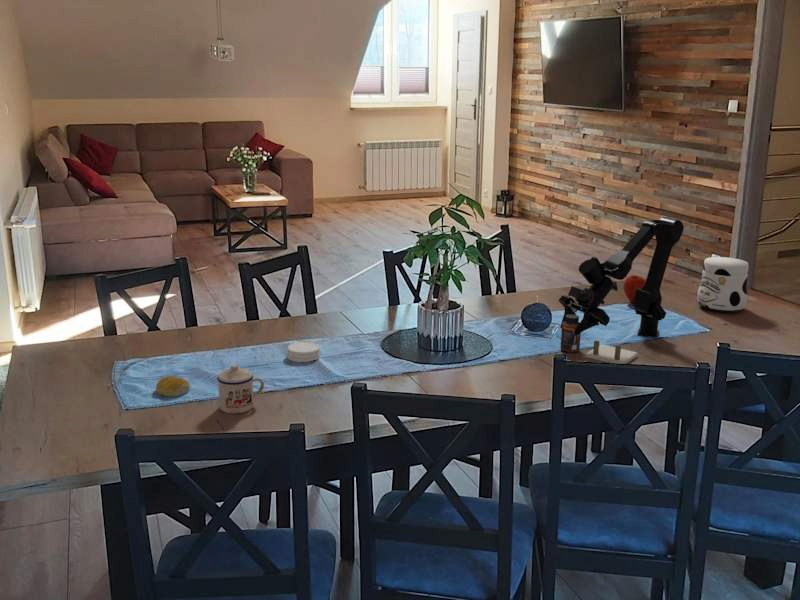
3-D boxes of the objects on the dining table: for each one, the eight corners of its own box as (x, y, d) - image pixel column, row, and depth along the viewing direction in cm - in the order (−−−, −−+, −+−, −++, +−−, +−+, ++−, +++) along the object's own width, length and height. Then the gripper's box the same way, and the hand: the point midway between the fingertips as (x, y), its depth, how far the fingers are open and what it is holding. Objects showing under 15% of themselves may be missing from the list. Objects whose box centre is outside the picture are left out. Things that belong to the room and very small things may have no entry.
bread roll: (172, 383, 226) (171, 370, 225) (195, 390, 221) (194, 376, 220) (149, 393, 219) (147, 379, 218) (171, 400, 214) (170, 386, 213)
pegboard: (601, 347, 257) (602, 332, 256) (637, 356, 250) (638, 340, 249) (585, 356, 249) (587, 341, 247) (622, 366, 242) (624, 349, 240)
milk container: (690, 310, 298) (695, 262, 293) (702, 299, 311) (708, 254, 306) (739, 318, 288) (745, 269, 283) (750, 307, 302) (756, 260, 297)
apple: (618, 299, 309) (620, 272, 306) (639, 299, 310) (642, 272, 307) (626, 306, 301) (629, 278, 298) (648, 305, 302) (651, 278, 299)
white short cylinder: (311, 365, 240) (310, 354, 239) (281, 360, 244) (281, 349, 243) (325, 354, 249) (325, 343, 248) (296, 350, 253) (296, 339, 252)
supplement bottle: (579, 354, 251) (582, 319, 248) (560, 352, 252) (562, 318, 249) (579, 347, 257) (582, 313, 254) (560, 346, 258) (562, 312, 255)
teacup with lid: (224, 417, 204) (221, 374, 201) (215, 403, 212) (212, 362, 209) (269, 408, 209) (268, 367, 206) (259, 396, 217) (257, 355, 214)
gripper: (564, 270, 258) (535, 308, 256) (606, 284, 242) (575, 324, 240) (581, 291, 264) (553, 328, 262) (623, 306, 248) (593, 345, 246)
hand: (567, 330), depth 252 cm, fingers closed on supplement bottle, 6 cm apart
